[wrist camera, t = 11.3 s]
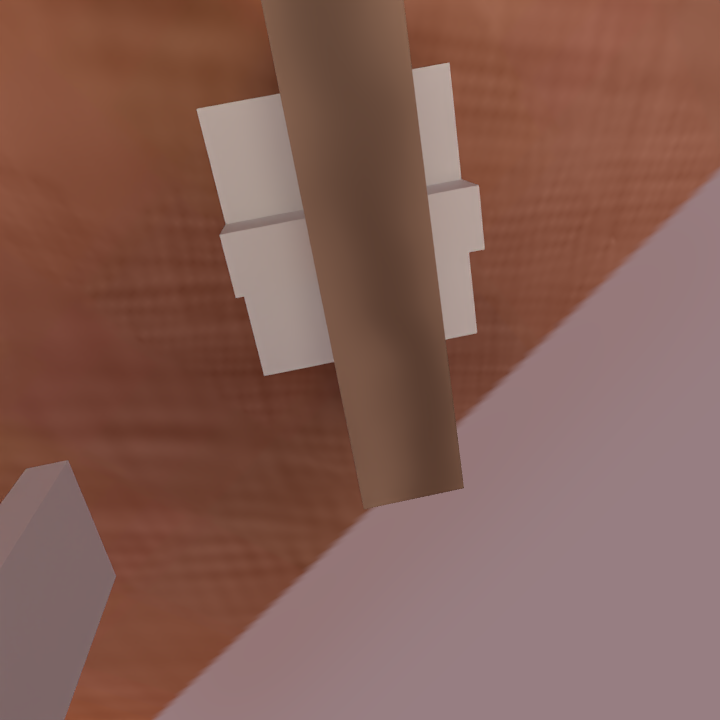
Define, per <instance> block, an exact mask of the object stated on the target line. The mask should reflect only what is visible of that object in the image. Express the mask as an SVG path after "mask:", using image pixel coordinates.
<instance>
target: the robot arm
mask: <svg viewBox="0 0 720 720" xmlns="http://www.w3.org/2000/svg"><path fill="white" fill-rule="evenodd" d="M115 578H116V575H115V572H114V570H113V568H112V565H111V563H110V560H109V558H108V555H107V553H106V551H105V548H104V546H103V543H102V541H101V539H100V536H99V534H98V531H97V529H96V526H95V524H94V522H93V519H92V517H91V514H90V512H89V510H88V507H87V505H86V502H85V500H84V497H83V495H82V493H81V490H80V488H79V485H78V483H77V481H76V478H75V476H74V473H73V471H72V468H71V466H70V464H69V461H68V460H66V461H61V462H57V463H52V464H47V465H42V466H37V467H32V468H28V469H26V470H25V471H24V472H23V474H22V475H21V477H20V478H19V479H18V481H17V482H16V483H15V485H14V486H13V487H12V489H11V490H10V492H9V493H8V494H7V496H6V497H5V498H4V500H3V501H2V503H1V504H0V720H64V719H65V716H66V713H67V711H68V708H69V705H70V702H71V700H72V697H73V694H74V691H75V688H76V686H77V683H78V680H79V677H80V675H81V672H82V669H83V666H84V664H85V661H86V658H87V655H88V652H89V650H90V647H91V644H92V641H93V639H94V636H95V633H96V630H97V627H98V625H99V622H100V619H101V616H102V614H103V611H104V608H105V605H106V603H107V600H108V597H109V594H110V591H111V589H112V586H113V583H114V580H115Z"/></svg>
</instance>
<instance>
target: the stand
mask: <svg viewBox="0 0 720 720" xmlns="http://www.w3.org/2000/svg"><path fill="white" fill-rule="evenodd" d="M412 73H413V81H414V89H415V97H416V106H417V114H418V122H419V130H420V138H421V146H422V154H423V162H424V170H425V178H426V186H427V194H428V203H429V211H430V219H431V227H432V235H433V243H434V251H435V259H436V267H437V275H438V283H439V292H440V300H441V308H442V316H443V324H444V332H445V339H450V338H455V337H460V336H465V335H470V334H475V333H477V327H476V317H475V307H474V297H473V288H472V278H471V268H470V258H469V252H473V251H478V250H484V249H485V247H484V236H483V225H482V214H481V203H480V192H479V185H477V184H474V183H471V182H468V181H465V180H462V179H461V171H460V161H459V151H458V141H457V132H456V122H455V112H454V102H453V93H452V83H451V73H450V63H444V64H439V65H433V66H428V67H422V68H417V69H412ZM197 113H198V117H199V121H200V125H201V129H202V133H203V137H204V141H205V145H206V149H207V153H208V156H209V160H210V164H211V168H212V172H213V176H214V180H215V184H216V188H217V192H218V196H219V200H220V204H221V208H222V212H223V216H224V220H225V223H226V225H225V226H224V228H223V230H222V231H221V233H220V239H221V243H222V246H223V250H224V254H225V258H226V262H227V266H228V270H229V273H230V277H231V281H232V285H233V289H234V293H235V297H236V298H239V297H244V298H245V302H246V306H247V310H248V314H249V318H250V322H251V326H252V330H253V334H254V338H255V342H256V346H257V350H258V354H259V358H260V361H261V365H262V369H263V373H264V376H267V375H272V374H277V373H282V372H287V371H292V370H297V369H302V368H307V367H312V366H317V365H322V364H327V363H331V362H334V359H333V354H332V349H331V344H330V339H329V334H328V329H327V324H326V319H325V314H324V309H323V304H322V299H321V294H320V290H319V285H318V280H317V275H316V270H315V265H314V260H313V255H312V250H311V245H310V240H309V235H308V230H307V225H306V220H305V215H304V210H303V205H302V200H301V196H300V191H299V186H298V181H297V176H296V171H295V166H294V161H293V156H292V151H291V146H290V141H289V136H288V131H287V126H286V121H285V116H284V111H283V107H282V102H281V97H280V94H275V95H269V96H264V97H258V98H253V99H248V100H242V101H237V102H231V103H226V104H220V105H215V106H209V107H204V108H198V109H197Z"/></svg>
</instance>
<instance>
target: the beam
mask: <svg viewBox="0 0 720 720" xmlns="http://www.w3.org/2000/svg"><path fill="white" fill-rule="evenodd" d="M261 3H262V8H263V13H264V17H265V22H266V27H267V32H268V37H269V42H270V47H271V52H272V57H273V62H274V67H275V72H276V77H277V82H278V87H279V92H280V97H281V102H282V107H283V111H284V116H285V121H286V126H287V131H288V136H289V141H290V146H291V151H292V156H293V161H294V166H295V171H296V176H297V181H298V186H299V191H300V196H301V200H302V205H303V210H304V215H305V220H306V225H307V230H308V235H309V240H310V245H311V250H312V255H313V260H314V265H315V270H316V275H317V280H318V285H319V290H320V294H321V299H322V304H323V309H324V314H325V319H326V324H327V329H328V334H329V339H330V344H331V349H332V354H333V359H334V364H335V369H336V374H337V379H338V384H339V388H340V393H341V398H342V403H343V408H344V413H345V418H346V423H347V428H348V433H349V438H350V443H351V448H352V453H353V458H354V463H355V468H356V473H357V477H358V482H359V487H360V492H361V497H362V502H363V507H364V509H368V508H372V507H377V506H382V505H386V504H391V503H396V502H400V501H405V500H410V499H415V498H420V497H424V496H429V495H434V494H438V493H443V492H448V491H452V490H457V489H462V488H464V486H463V478H462V470H461V461H460V454H459V445H458V437H457V429H456V421H455V413H454V405H453V397H452V389H451V380H450V372H449V364H448V356H447V348H446V340H445V332H444V324H443V316H442V308H441V300H440V292H439V283H438V275H437V267H436V259H435V251H434V243H433V235H432V227H431V219H430V211H429V203H428V194H427V186H426V178H425V170H424V162H423V154H422V146H421V138H420V130H419V122H418V114H417V106H416V97H415V89H414V81H413V73H412V65H411V57H410V49H409V41H408V33H407V25H406V17H405V8H404V0H261Z"/></svg>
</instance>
